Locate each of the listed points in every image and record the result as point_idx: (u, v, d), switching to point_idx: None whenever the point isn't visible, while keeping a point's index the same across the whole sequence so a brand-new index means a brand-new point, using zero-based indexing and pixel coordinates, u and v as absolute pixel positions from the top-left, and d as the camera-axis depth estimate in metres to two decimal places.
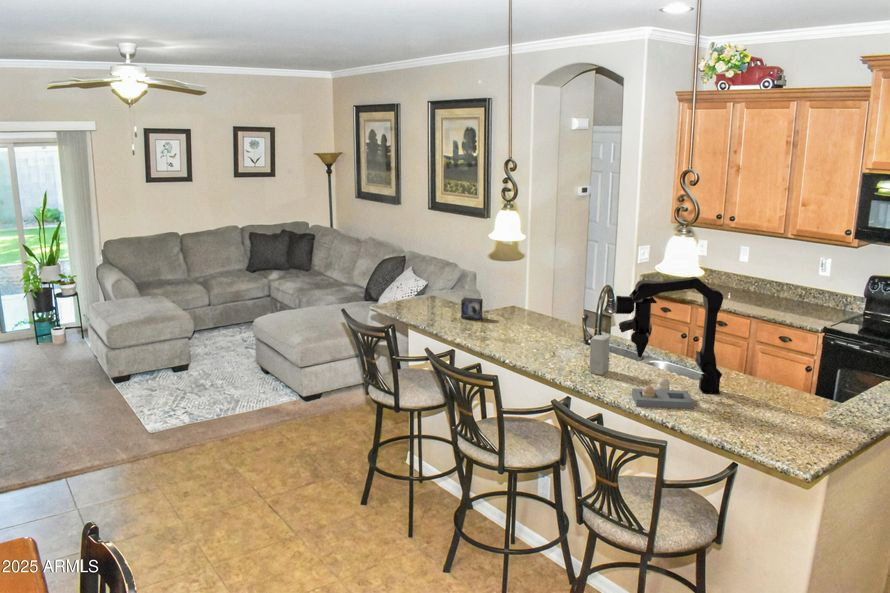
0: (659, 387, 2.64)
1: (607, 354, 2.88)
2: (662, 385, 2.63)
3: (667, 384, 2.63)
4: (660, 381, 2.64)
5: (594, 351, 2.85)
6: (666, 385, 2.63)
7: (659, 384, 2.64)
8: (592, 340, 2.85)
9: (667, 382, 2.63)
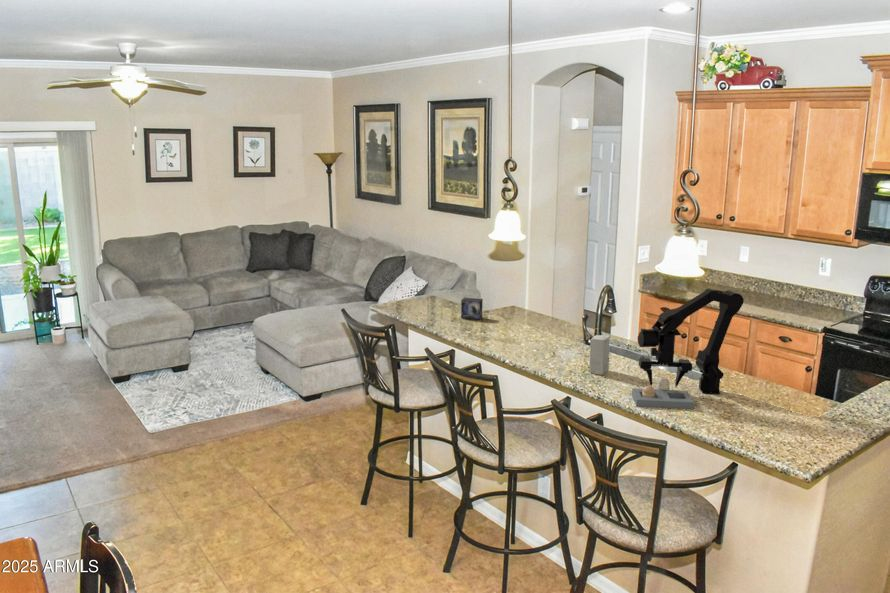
0: (659, 387, 2.64)
1: (607, 354, 2.88)
2: (662, 385, 2.63)
3: (667, 384, 2.63)
4: (660, 381, 2.64)
5: (594, 351, 2.85)
6: (666, 385, 2.63)
7: (659, 384, 2.64)
8: (592, 340, 2.85)
9: (667, 382, 2.63)
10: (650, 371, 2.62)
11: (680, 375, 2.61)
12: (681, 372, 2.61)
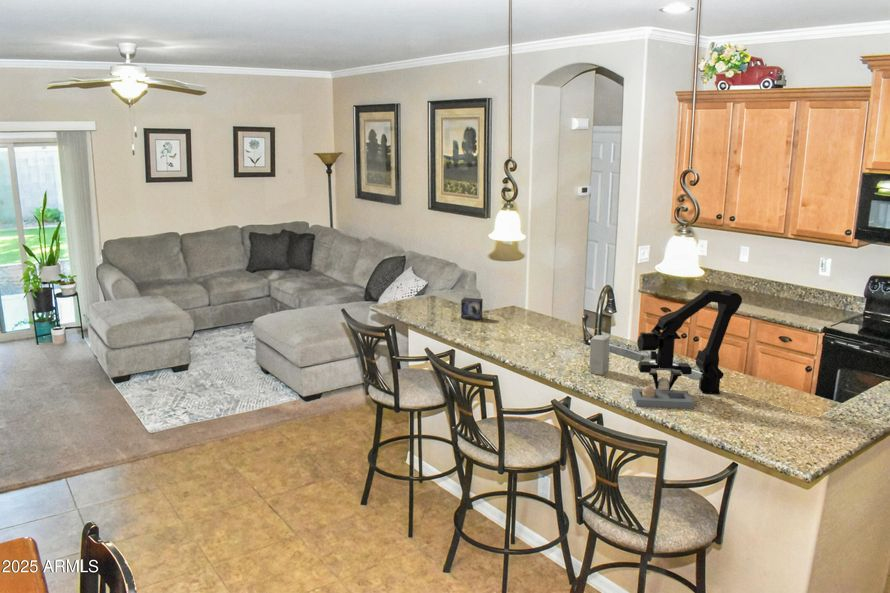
0: (659, 387, 2.64)
1: (607, 354, 2.88)
2: (662, 385, 2.63)
3: (667, 384, 2.63)
4: (660, 381, 2.64)
5: (594, 351, 2.85)
6: (666, 385, 2.63)
7: (659, 384, 2.64)
8: (592, 340, 2.85)
9: (667, 382, 2.63)
10: (656, 375, 2.62)
11: (673, 378, 2.62)
12: (674, 375, 2.61)
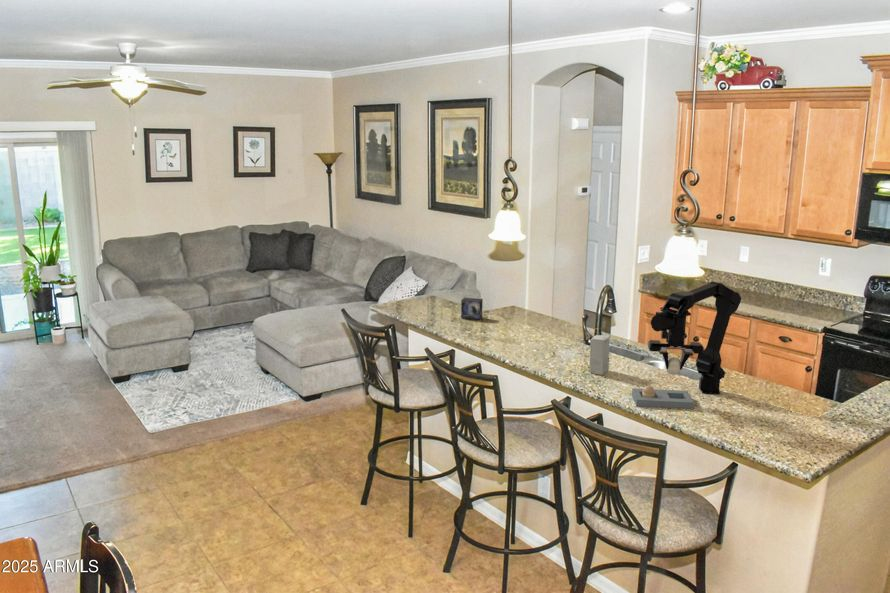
0: (669, 367, 2.55)
1: (607, 354, 2.88)
2: (673, 365, 2.54)
3: (678, 364, 2.54)
4: (671, 360, 2.55)
5: (594, 351, 2.85)
6: (677, 365, 2.54)
7: (669, 364, 2.55)
8: (592, 340, 2.85)
9: (678, 362, 2.54)
10: (666, 354, 2.53)
11: (684, 358, 2.52)
12: (686, 355, 2.52)
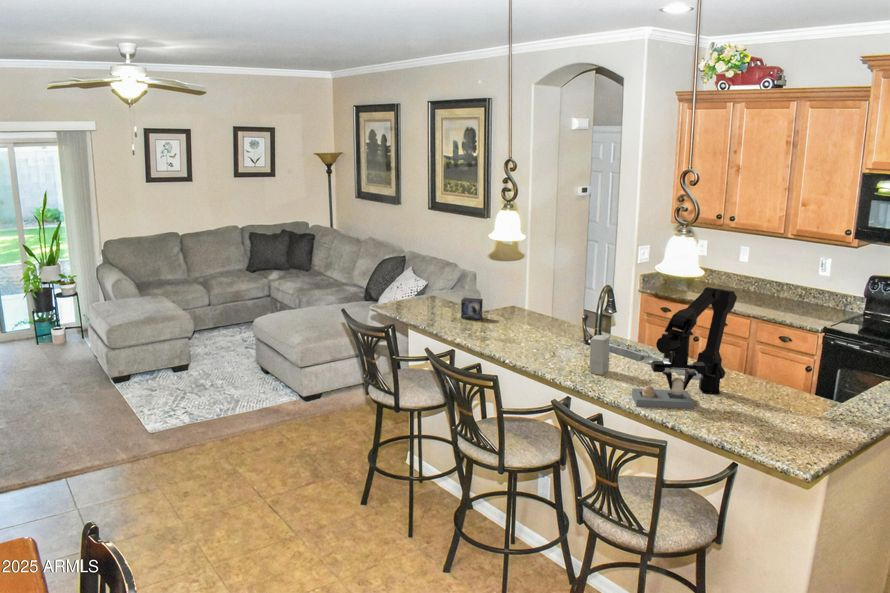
0: (673, 387, 2.53)
1: (607, 354, 2.88)
2: (677, 385, 2.52)
3: (681, 384, 2.52)
4: (674, 381, 2.53)
5: (594, 351, 2.85)
6: (680, 385, 2.52)
7: (673, 384, 2.53)
8: (592, 340, 2.85)
9: (681, 382, 2.53)
10: (670, 374, 2.51)
11: (688, 378, 2.51)
12: (689, 375, 2.50)
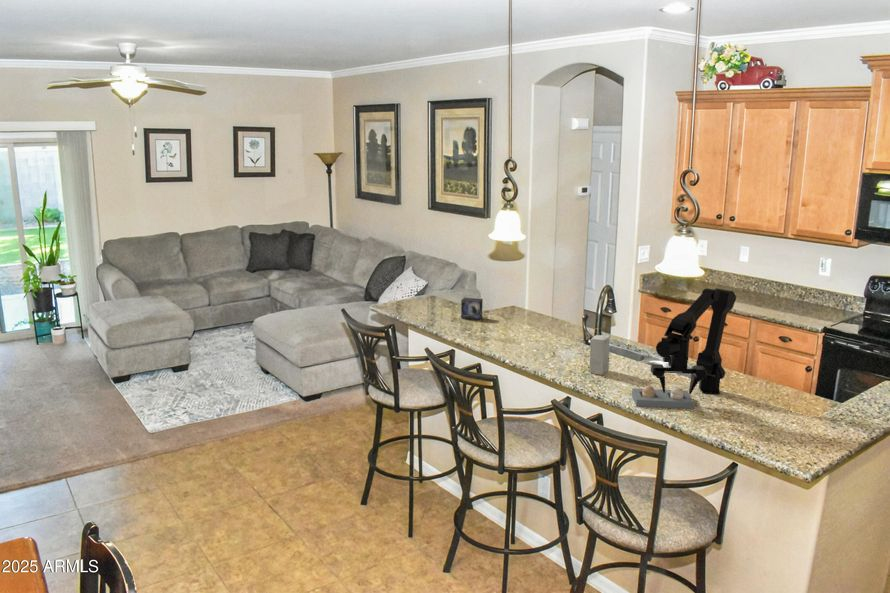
0: (672, 397, 2.54)
1: (607, 354, 2.88)
2: (676, 395, 2.53)
3: (681, 394, 2.53)
4: (674, 390, 2.54)
5: (594, 351, 2.85)
6: (680, 395, 2.53)
7: (672, 394, 2.54)
8: (592, 340, 2.85)
9: (681, 392, 2.53)
10: (663, 378, 2.52)
11: (694, 382, 2.51)
12: (695, 379, 2.50)
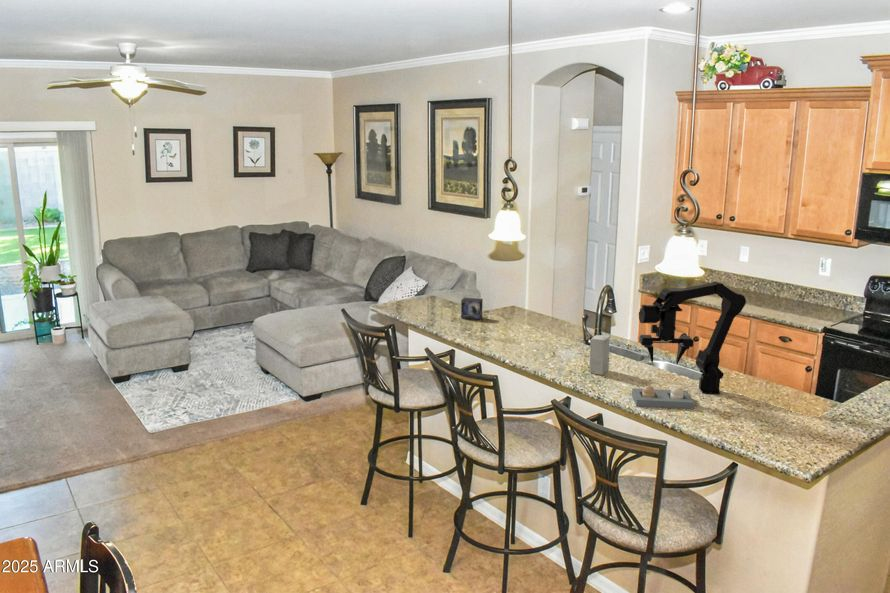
0: (672, 397, 2.54)
1: (607, 354, 2.88)
2: (676, 395, 2.53)
3: (681, 394, 2.53)
4: (674, 391, 2.54)
5: (594, 351, 2.85)
6: (680, 395, 2.53)
7: (672, 394, 2.54)
8: (592, 340, 2.85)
9: (681, 392, 2.53)
10: (651, 348, 2.60)
11: (681, 351, 2.59)
12: (682, 348, 2.59)
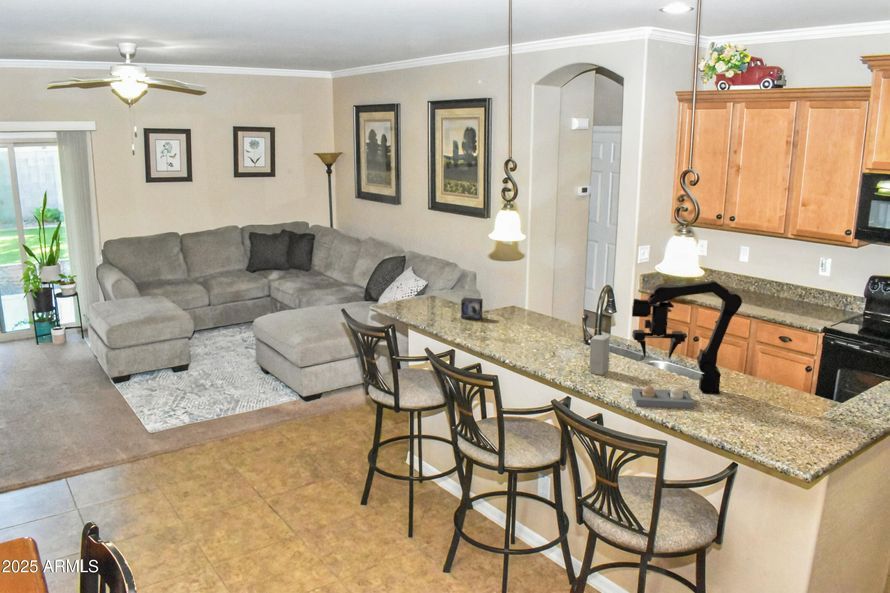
0: (673, 397, 2.54)
1: (607, 354, 2.88)
2: (676, 395, 2.53)
3: (681, 393, 2.53)
4: (673, 391, 2.54)
5: (594, 351, 2.85)
6: (680, 395, 2.53)
7: (673, 394, 2.54)
8: (592, 340, 2.85)
9: (681, 391, 2.53)
10: (644, 342, 2.66)
11: (673, 346, 2.65)
12: (674, 343, 2.65)
